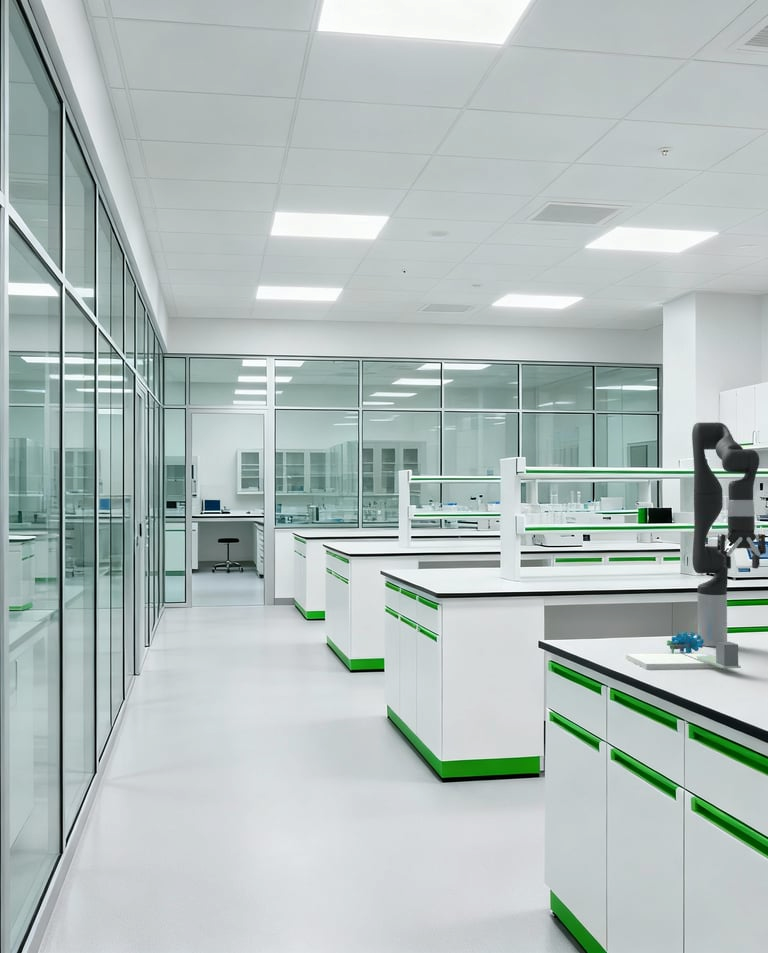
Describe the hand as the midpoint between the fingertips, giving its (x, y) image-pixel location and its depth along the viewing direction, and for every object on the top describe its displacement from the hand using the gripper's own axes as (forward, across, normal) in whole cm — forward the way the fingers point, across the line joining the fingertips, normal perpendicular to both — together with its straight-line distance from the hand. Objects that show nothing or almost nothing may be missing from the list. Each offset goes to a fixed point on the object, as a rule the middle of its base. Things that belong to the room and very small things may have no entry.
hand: (741, 568), depth 262 cm
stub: (+26, +13, +11) cm, 31 cm away
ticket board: (+28, +22, +2) cm, 36 cm away
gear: (+28, +12, -14) cm, 34 cm away
